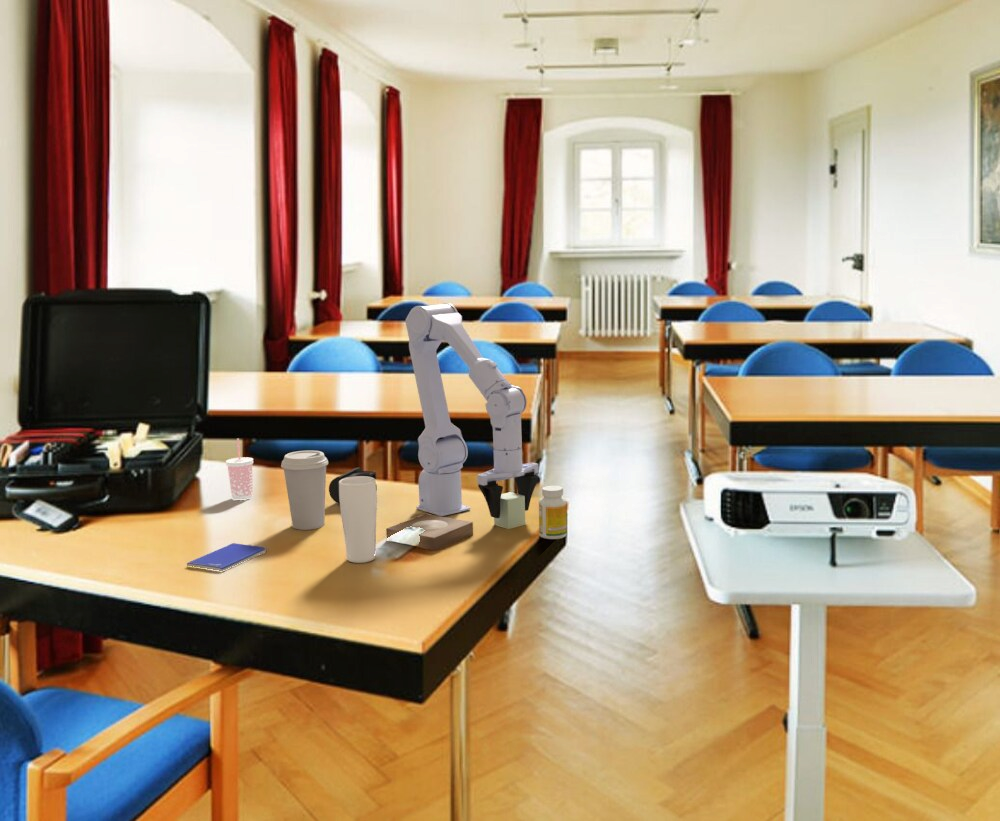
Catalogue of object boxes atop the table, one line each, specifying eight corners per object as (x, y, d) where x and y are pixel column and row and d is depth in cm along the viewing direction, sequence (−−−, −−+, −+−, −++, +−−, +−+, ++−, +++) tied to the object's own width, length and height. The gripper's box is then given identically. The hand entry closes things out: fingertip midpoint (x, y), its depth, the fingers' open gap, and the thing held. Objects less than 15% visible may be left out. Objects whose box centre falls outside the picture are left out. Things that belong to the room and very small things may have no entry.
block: (494, 524, 207) (493, 496, 206) (511, 520, 210) (510, 491, 209) (508, 529, 204) (507, 500, 203) (525, 524, 207) (524, 495, 206)
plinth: (386, 541, 198) (386, 528, 198) (426, 525, 208) (425, 513, 207) (434, 550, 191) (434, 537, 191) (473, 534, 201) (472, 521, 200)
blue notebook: (221, 567, 182) (265, 547, 193) (186, 562, 186) (231, 542, 197) (222, 575, 183) (266, 554, 194) (187, 570, 186) (232, 550, 197)
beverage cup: (244, 502, 230) (239, 442, 228) (223, 500, 233) (218, 440, 230) (261, 496, 236) (257, 436, 233) (240, 493, 238) (236, 435, 236)
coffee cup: (300, 535, 204) (295, 462, 201) (276, 525, 211) (271, 455, 208) (340, 525, 210) (336, 454, 207) (316, 516, 217) (312, 447, 215)
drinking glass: (338, 557, 189) (334, 478, 187) (374, 551, 192) (369, 474, 189) (348, 567, 183) (343, 486, 180) (384, 561, 186) (380, 481, 183)
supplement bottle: (533, 536, 198) (532, 488, 197) (551, 530, 202) (550, 483, 201) (555, 541, 195) (554, 492, 193) (572, 534, 199) (571, 487, 197)
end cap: (350, 495, 235) (348, 466, 233) (378, 496, 232) (376, 468, 231) (329, 506, 225) (327, 476, 224) (357, 508, 223) (356, 478, 222)
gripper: (492, 456, 197) (494, 524, 199) (547, 444, 206) (549, 510, 208) (469, 451, 202) (472, 517, 204) (525, 440, 211) (526, 503, 213)
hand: (509, 513), depth 207 cm, fingers open, 7 cm apart
